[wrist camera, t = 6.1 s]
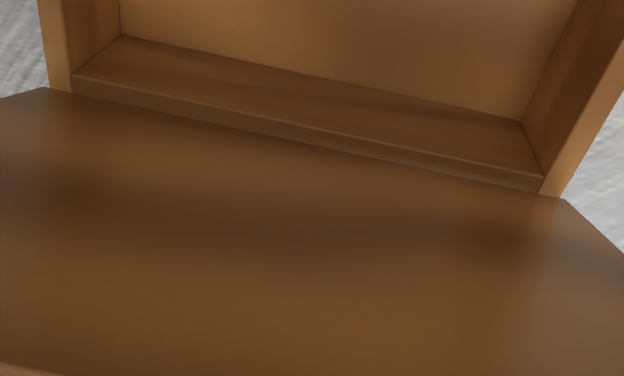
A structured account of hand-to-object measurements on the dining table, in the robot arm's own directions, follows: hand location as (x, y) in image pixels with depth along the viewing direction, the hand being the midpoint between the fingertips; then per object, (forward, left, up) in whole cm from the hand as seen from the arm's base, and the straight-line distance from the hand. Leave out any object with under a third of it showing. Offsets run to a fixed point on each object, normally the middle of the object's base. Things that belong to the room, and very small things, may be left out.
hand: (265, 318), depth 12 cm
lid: (+1, +3, 0) cm, 4 cm away
